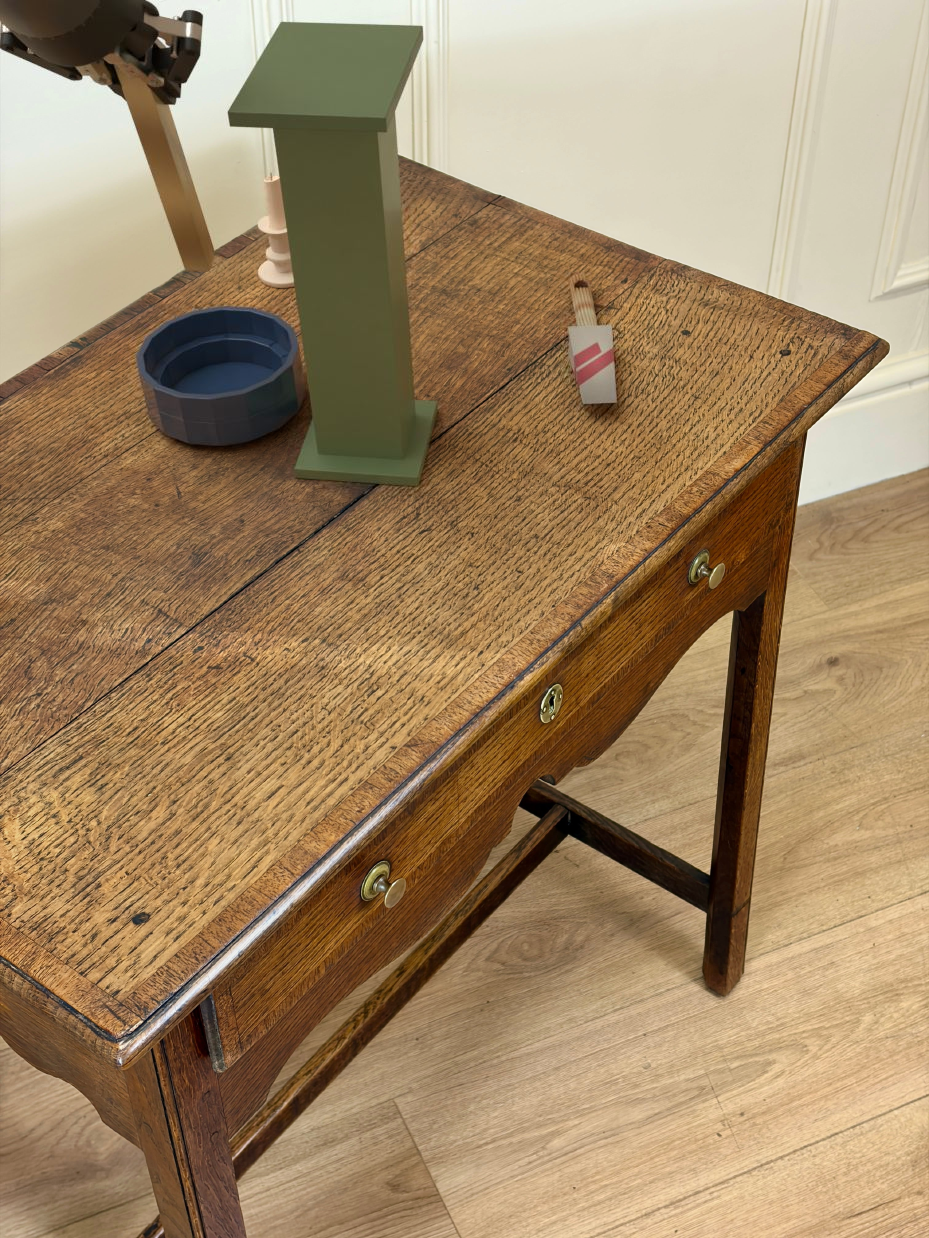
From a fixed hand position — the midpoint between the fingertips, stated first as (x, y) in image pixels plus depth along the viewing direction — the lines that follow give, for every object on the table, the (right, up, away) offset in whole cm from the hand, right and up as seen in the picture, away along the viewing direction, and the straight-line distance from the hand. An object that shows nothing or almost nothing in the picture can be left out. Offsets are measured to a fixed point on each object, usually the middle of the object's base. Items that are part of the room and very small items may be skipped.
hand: (153, 90), depth 89 cm
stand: (+13, -22, +18) cm, 31 cm away
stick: (0, -4, +2) cm, 5 cm away
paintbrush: (+32, -13, +26) cm, 44 cm away
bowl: (+1, -18, +22) cm, 28 cm away
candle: (+4, -3, +36) cm, 37 cm away
